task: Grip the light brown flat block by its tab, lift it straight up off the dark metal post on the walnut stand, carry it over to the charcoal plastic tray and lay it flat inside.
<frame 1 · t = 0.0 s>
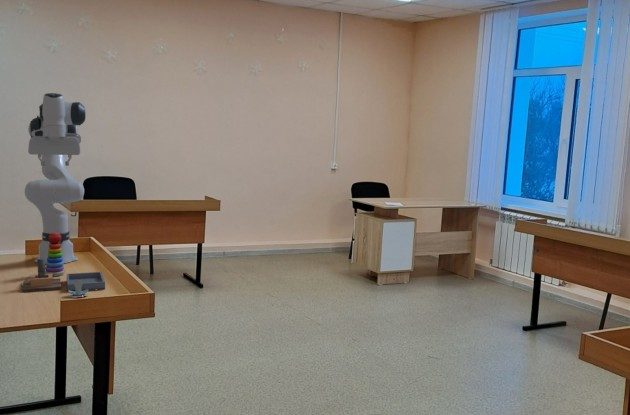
hand: (55, 165, 262), 48 cm above the table, fingers open, 8 cm apart
tray: (85, 284, 257), on the table
light brown flat block: (41, 283, 252), point 1 cm above the table, touching post stand
pacifier: (78, 297, 241), on the table
post stand: (41, 286, 252), on the table
stacking toy: (54, 275, 272), on the table
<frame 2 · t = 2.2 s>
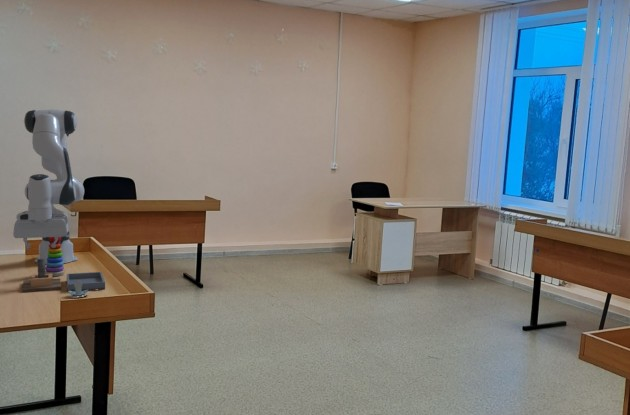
hand: (41, 247, 255), 15 cm above the table, fingers open, 8 cm apart
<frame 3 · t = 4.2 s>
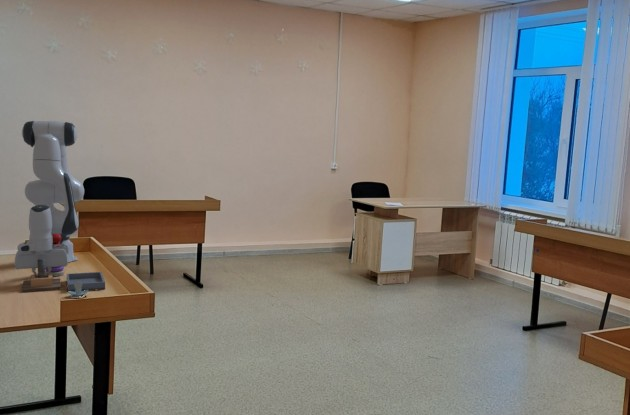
hand: (41, 277, 257), 2 cm above the table, fingers closed on light brown flat block, 2 cm apart
light brown flat block: (41, 283, 252), point 1 cm above the table, touching gripper, post stand
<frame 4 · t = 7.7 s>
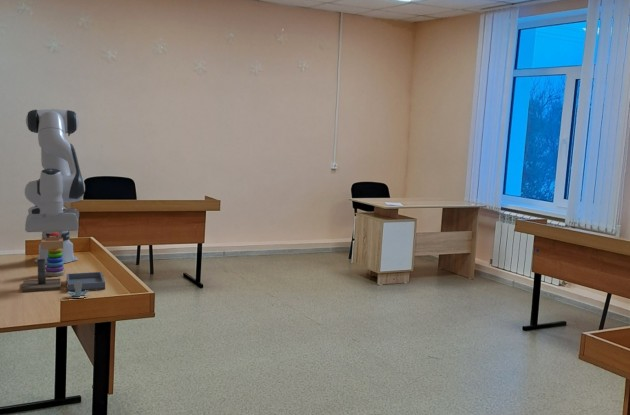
hand: (52, 242, 256), 17 cm above the table, fingers closed on light brown flat block, 2 cm apart
light brown flat block: (52, 247, 251), point 16 cm above the table, touching gripper
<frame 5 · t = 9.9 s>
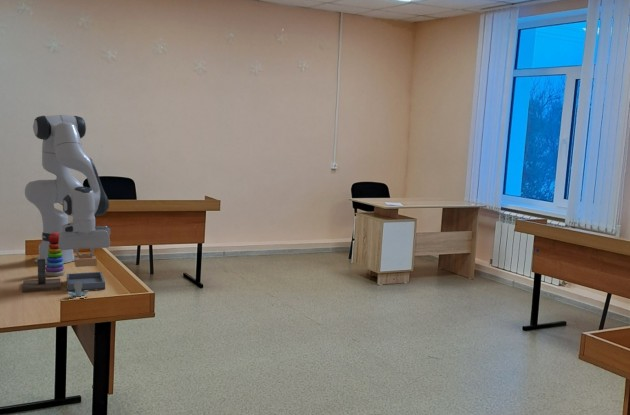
hand: (84, 259, 259), 10 cm above the table, fingers closed on light brown flat block, 2 cm apart
light brown flat block: (85, 264, 254), point 9 cm above the table, touching gripper
when the fingers open (3 cm above the table, at t = 11.7 s): light brown flat block drops 1 cm, resting on tray.
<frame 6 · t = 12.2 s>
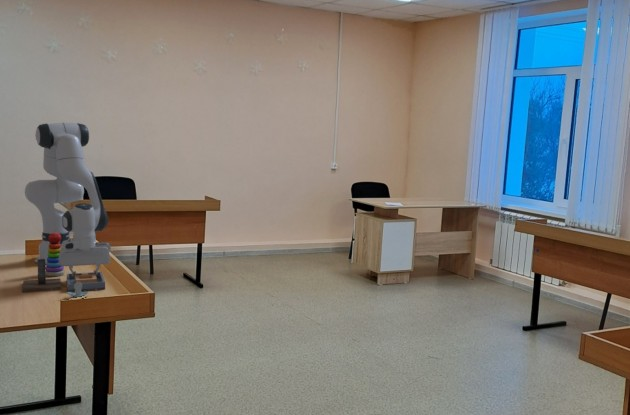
hand: (84, 275, 260), 3 cm above the table, fingers open, 7 cm apart
light brown flat block: (85, 284, 255), point 1 cm above the table, touching tray
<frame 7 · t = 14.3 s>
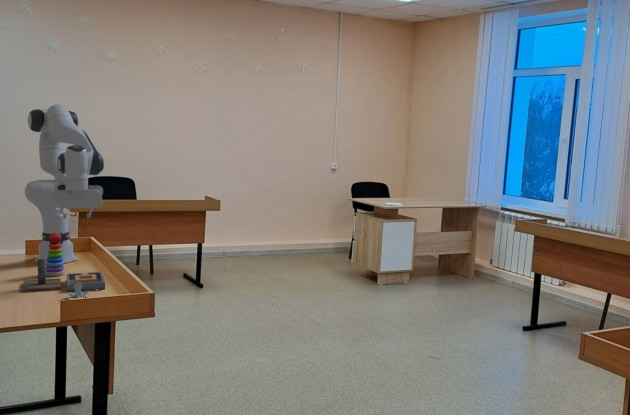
hand: (76, 217, 260), 27 cm above the table, fingers open, 8 cm apart
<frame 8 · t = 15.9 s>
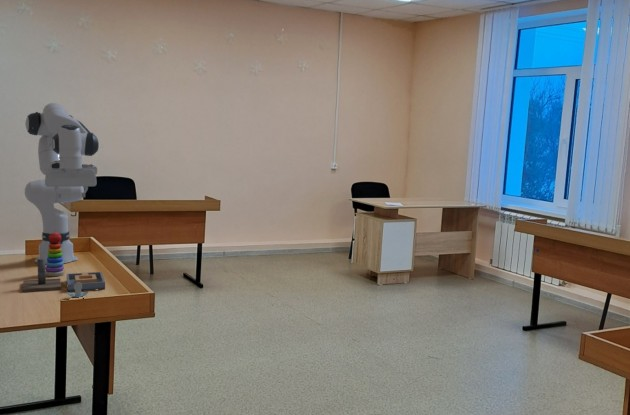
hand: (71, 197, 261), 35 cm above the table, fingers open, 8 cm apart
at the end: light brown flat block inside the target area on the tray (0.5 cm from its centre), point 0.8 cm above the tray's base; light brown flat block tilted 0°; the gripper is holding nothing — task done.
